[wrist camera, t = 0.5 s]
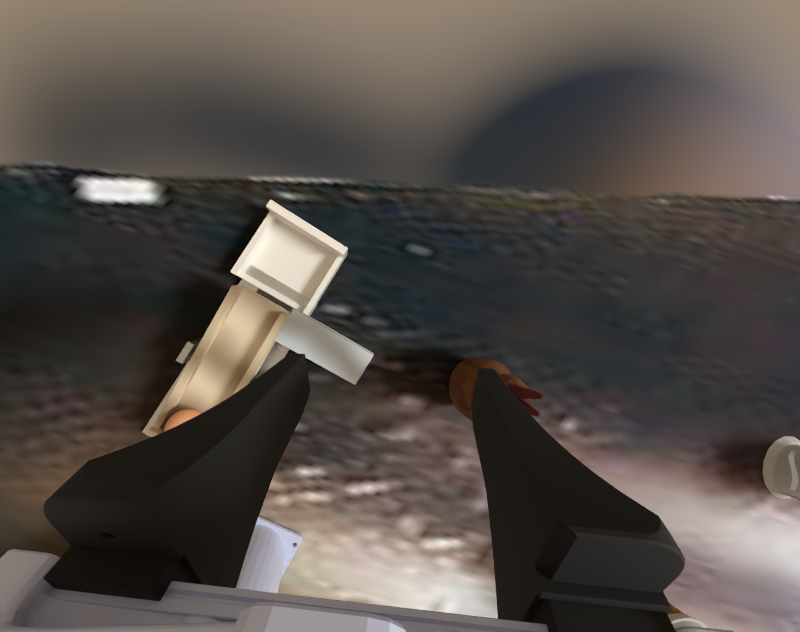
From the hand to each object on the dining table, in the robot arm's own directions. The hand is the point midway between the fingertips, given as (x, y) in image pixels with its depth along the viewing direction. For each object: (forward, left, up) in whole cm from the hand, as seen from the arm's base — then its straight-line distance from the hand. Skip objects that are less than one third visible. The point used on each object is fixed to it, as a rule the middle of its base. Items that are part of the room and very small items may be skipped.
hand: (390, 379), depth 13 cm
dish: (+4, +10, -23) cm, 26 cm away
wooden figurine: (+2, -14, -24) cm, 28 cm away
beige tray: (-8, +6, -21) cm, 23 cm away
